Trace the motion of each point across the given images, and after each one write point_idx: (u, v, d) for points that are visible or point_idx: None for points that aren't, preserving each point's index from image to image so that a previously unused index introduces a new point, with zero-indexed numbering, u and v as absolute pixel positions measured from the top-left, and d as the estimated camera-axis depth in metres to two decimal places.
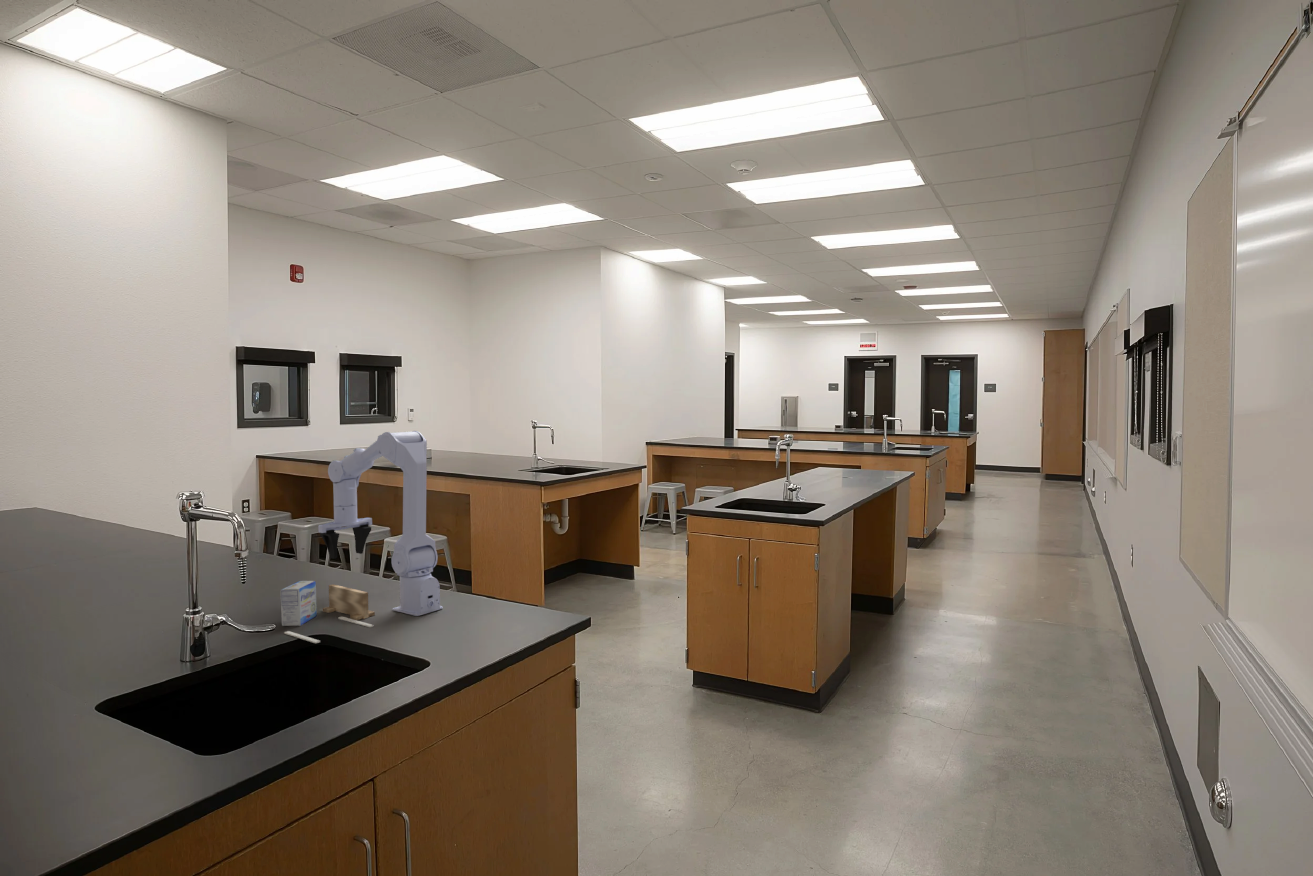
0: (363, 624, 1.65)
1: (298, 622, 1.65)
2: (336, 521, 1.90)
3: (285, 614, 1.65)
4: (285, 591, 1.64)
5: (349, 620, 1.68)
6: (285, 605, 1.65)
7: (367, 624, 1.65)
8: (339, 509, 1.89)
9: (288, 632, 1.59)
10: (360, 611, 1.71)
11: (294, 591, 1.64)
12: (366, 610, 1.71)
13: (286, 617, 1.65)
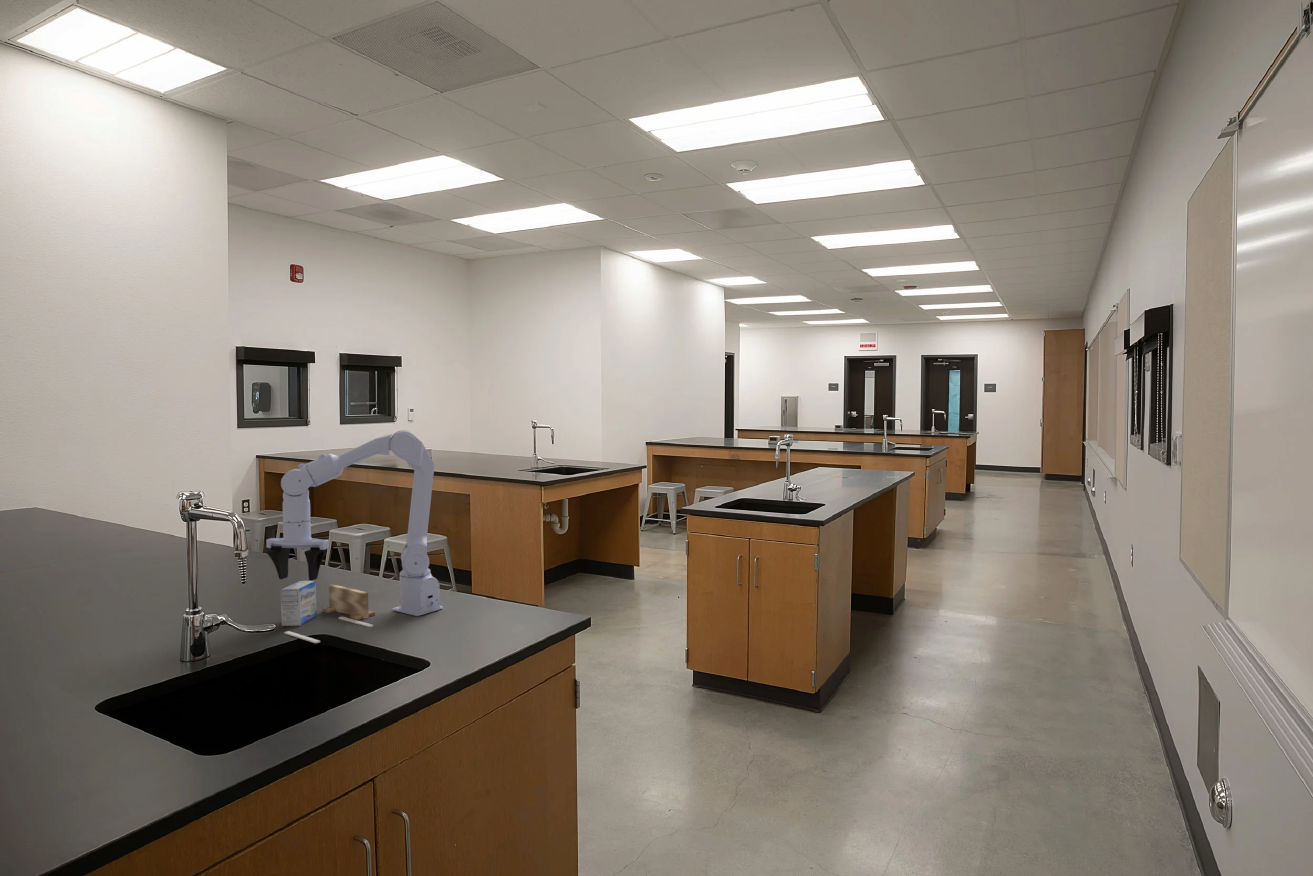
0: (363, 624, 1.65)
1: (298, 622, 1.65)
2: None
3: (285, 614, 1.65)
4: (285, 591, 1.64)
5: (349, 620, 1.68)
6: (285, 605, 1.65)
7: (367, 624, 1.65)
8: None
9: (288, 632, 1.59)
10: (360, 611, 1.71)
11: (294, 591, 1.64)
12: (366, 610, 1.71)
13: (286, 617, 1.65)
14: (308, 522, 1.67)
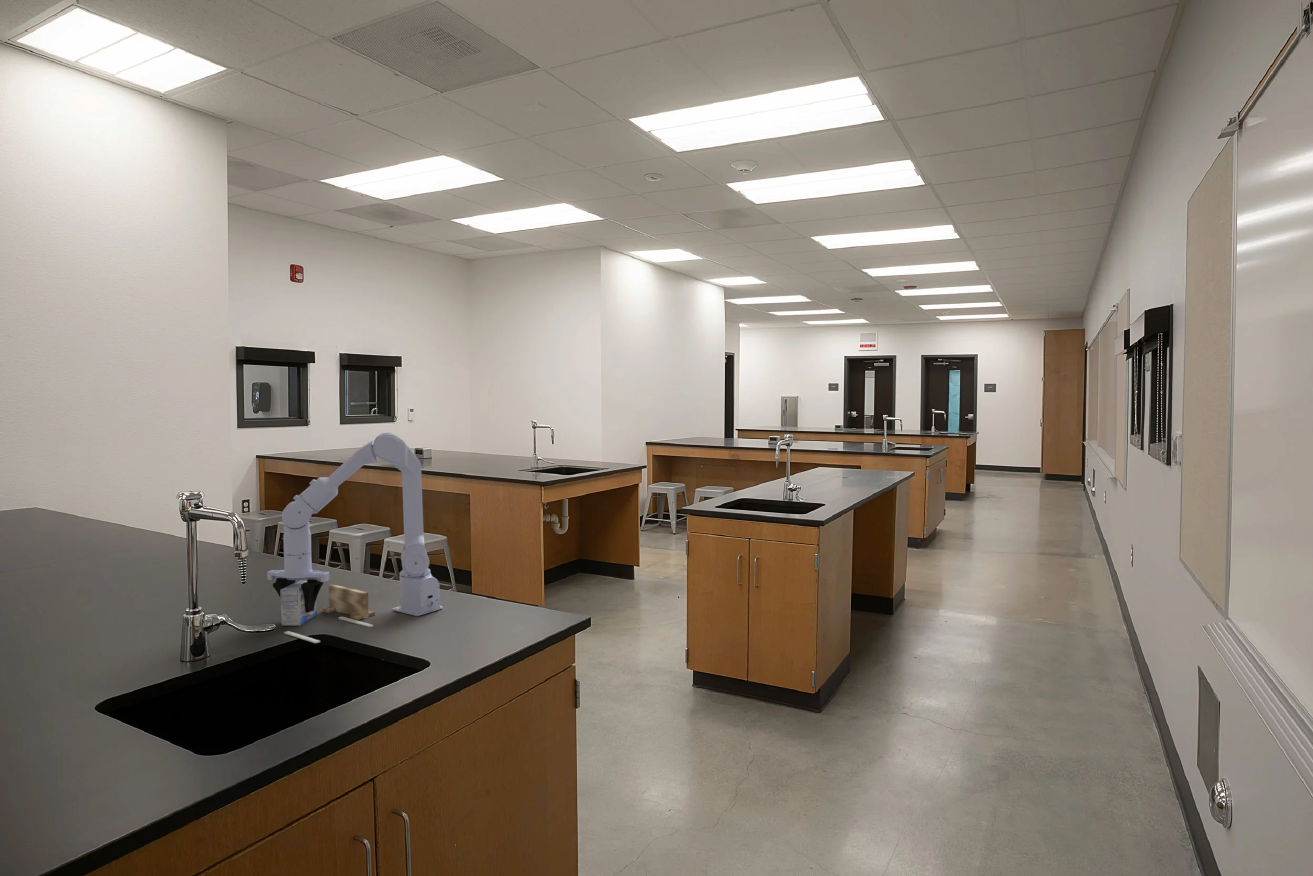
0: (363, 624, 1.65)
1: (297, 622, 1.65)
2: None
3: (284, 613, 1.65)
4: (285, 590, 1.64)
5: (349, 620, 1.68)
6: (285, 605, 1.65)
7: (367, 624, 1.65)
8: None
9: (288, 632, 1.59)
10: (360, 611, 1.71)
11: (294, 591, 1.64)
12: (366, 610, 1.71)
13: (286, 617, 1.65)
14: (309, 554, 1.68)
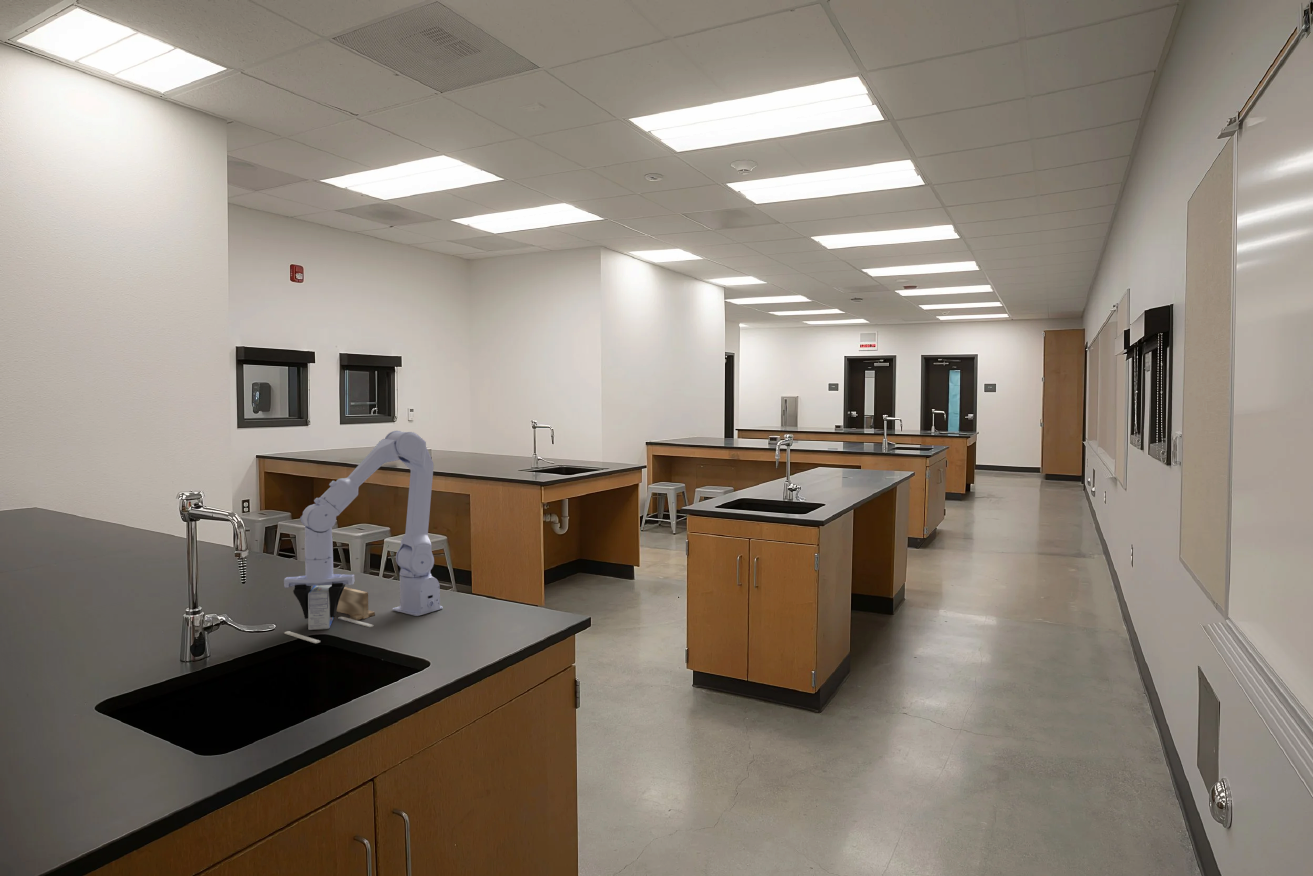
0: (363, 624, 1.65)
1: (327, 625, 1.62)
2: None
3: (312, 617, 1.61)
4: (313, 594, 1.61)
5: (349, 620, 1.68)
6: (313, 608, 1.61)
7: (367, 624, 1.65)
8: (305, 562, 1.62)
9: (288, 632, 1.59)
10: (360, 611, 1.71)
11: (324, 594, 1.62)
12: (366, 610, 1.71)
13: (314, 621, 1.61)
14: (332, 558, 1.64)
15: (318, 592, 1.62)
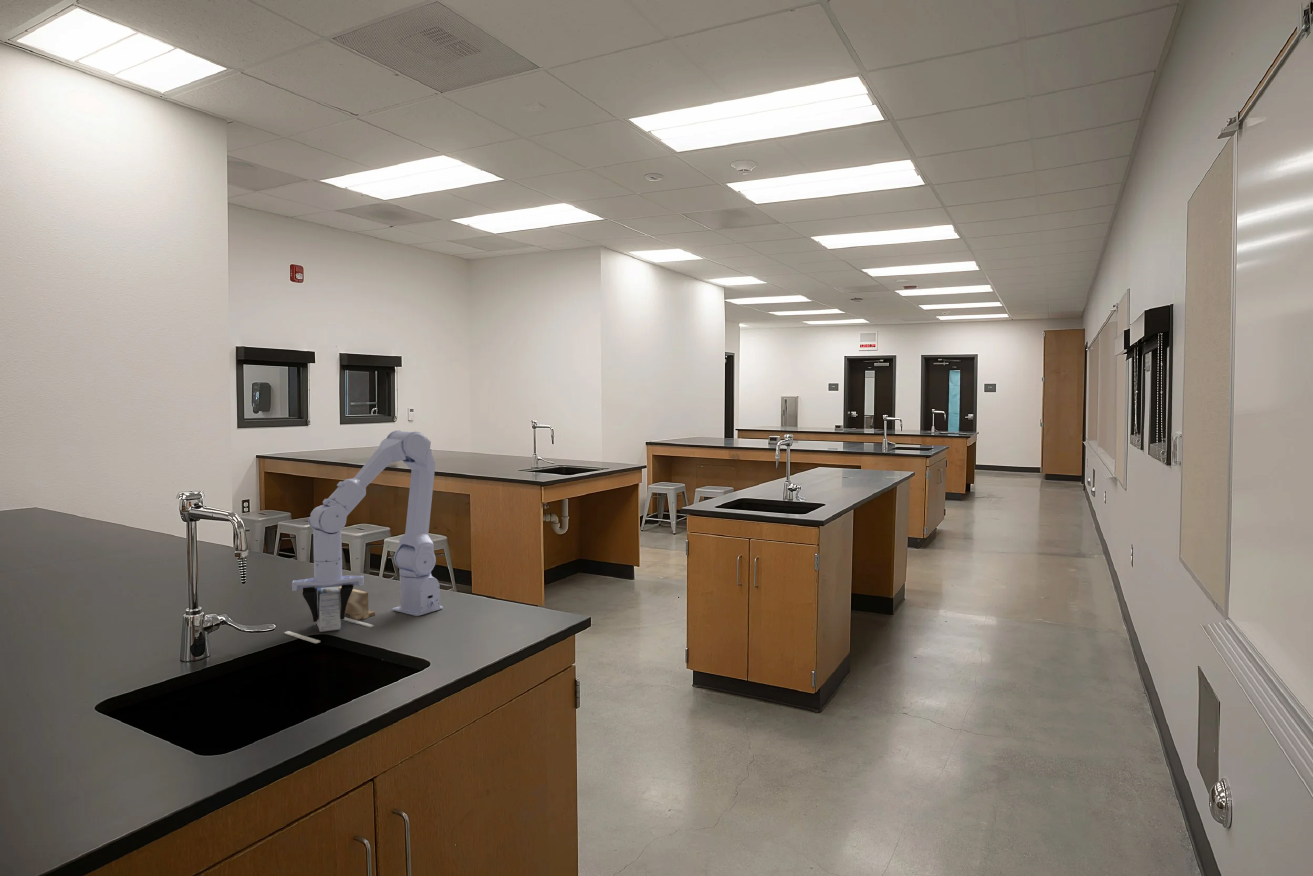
0: (363, 624, 1.65)
1: (338, 626, 1.62)
2: (314, 578, 1.61)
3: (324, 619, 1.60)
4: (325, 595, 1.60)
5: (349, 620, 1.68)
6: (325, 610, 1.60)
7: (367, 624, 1.65)
8: (314, 564, 1.59)
9: (288, 632, 1.59)
10: (360, 611, 1.71)
11: (335, 594, 1.61)
12: (366, 610, 1.71)
13: (325, 622, 1.60)
14: (341, 559, 1.62)
15: (330, 593, 1.61)
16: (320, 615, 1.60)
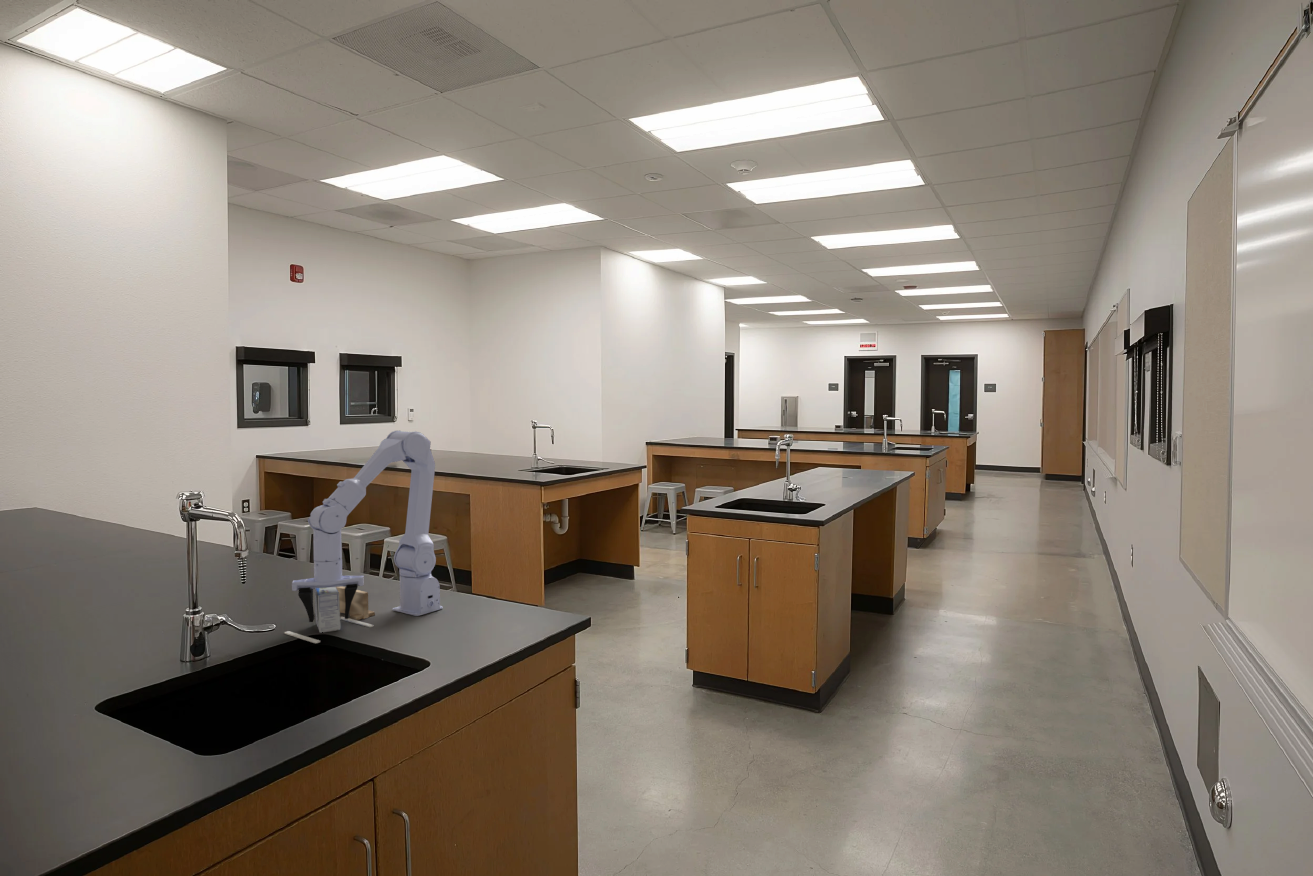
0: (363, 624, 1.65)
1: (338, 626, 1.62)
2: None
3: (323, 620, 1.60)
4: (323, 596, 1.60)
5: (349, 620, 1.68)
6: (324, 611, 1.60)
7: (367, 624, 1.65)
8: (314, 564, 1.59)
9: (288, 632, 1.59)
10: (360, 611, 1.71)
11: (334, 595, 1.61)
12: (366, 610, 1.71)
13: (325, 623, 1.60)
14: (341, 559, 1.62)
15: (328, 594, 1.60)
16: (319, 616, 1.60)
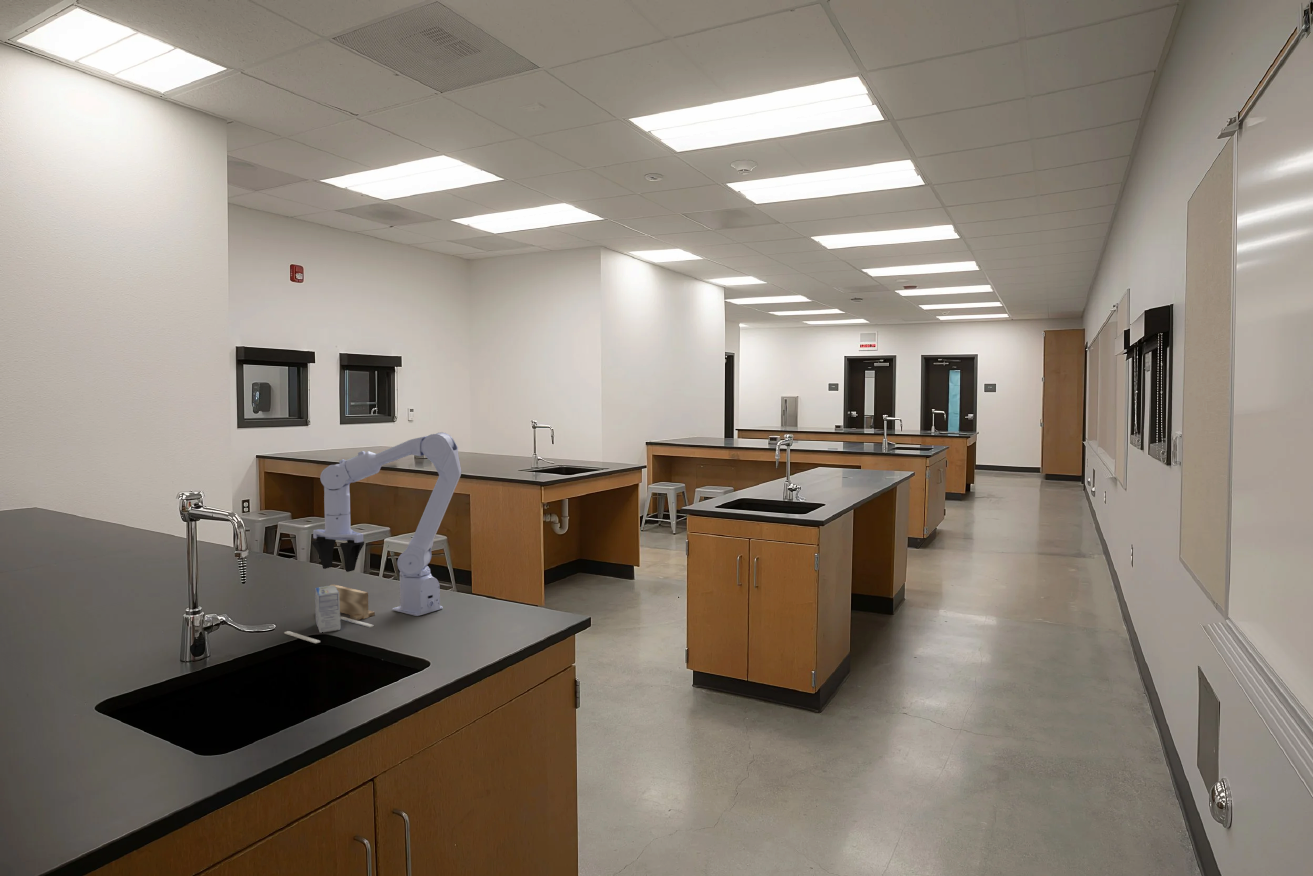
0: (363, 624, 1.65)
1: (338, 626, 1.62)
2: None
3: (323, 620, 1.60)
4: (323, 596, 1.60)
5: (349, 620, 1.68)
6: (324, 611, 1.60)
7: (367, 624, 1.65)
8: None
9: (288, 632, 1.59)
10: (360, 611, 1.71)
11: (334, 595, 1.61)
12: (366, 610, 1.71)
13: (325, 623, 1.60)
14: (346, 515, 1.74)
15: (328, 594, 1.60)
16: (319, 616, 1.60)
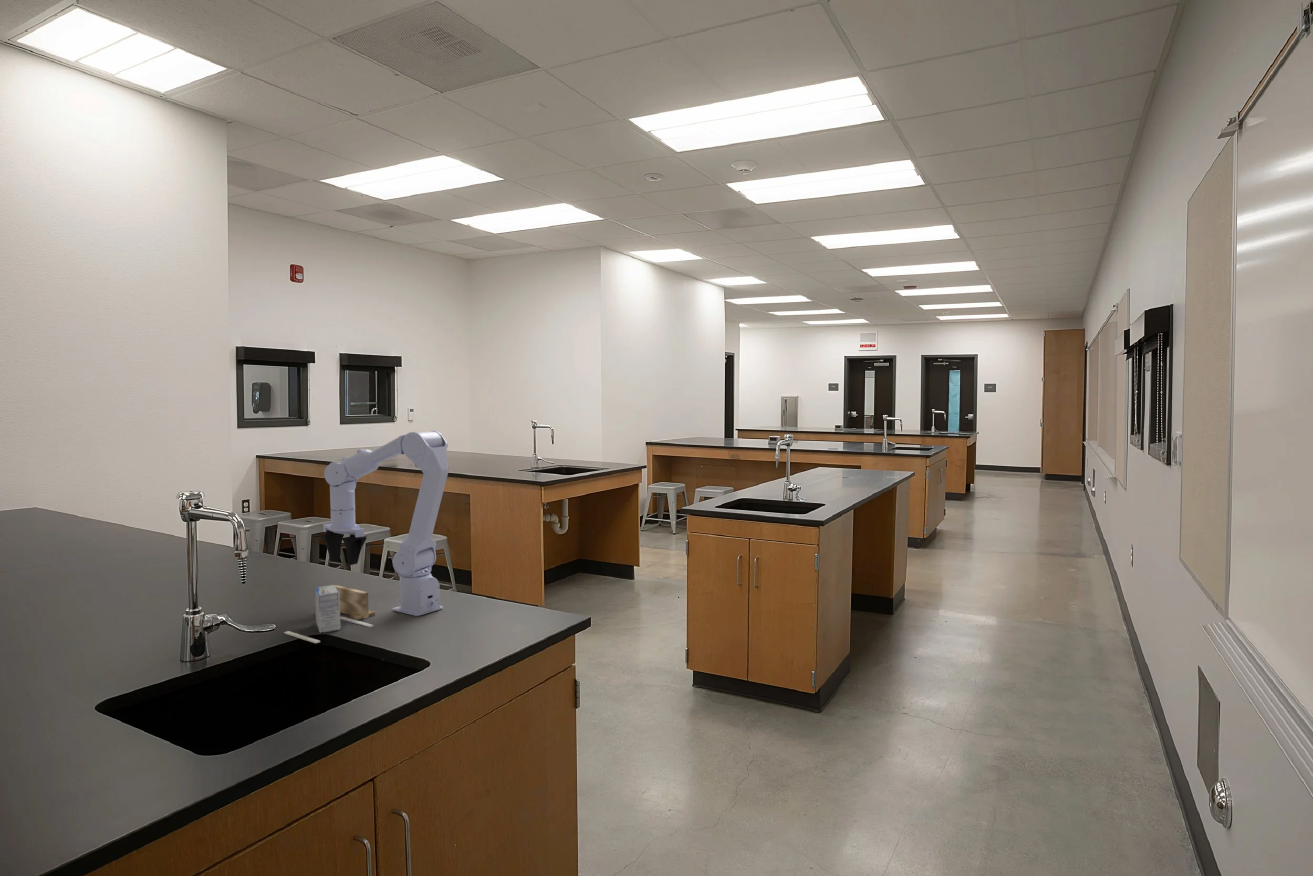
0: (363, 624, 1.65)
1: (338, 626, 1.62)
2: None
3: (323, 620, 1.60)
4: (323, 596, 1.60)
5: (349, 620, 1.68)
6: (324, 611, 1.60)
7: (367, 624, 1.65)
8: None
9: (288, 632, 1.59)
10: (360, 611, 1.71)
11: (334, 595, 1.61)
12: (366, 610, 1.71)
13: (325, 623, 1.60)
14: (350, 511, 1.81)
15: (328, 594, 1.60)
16: (319, 616, 1.60)
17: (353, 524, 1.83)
